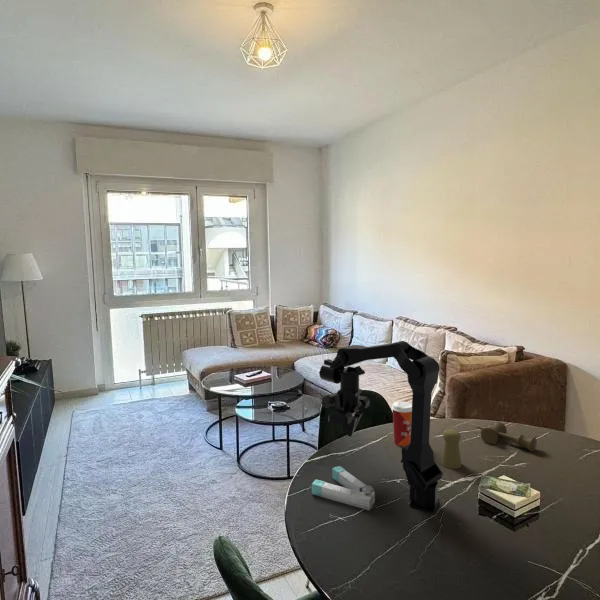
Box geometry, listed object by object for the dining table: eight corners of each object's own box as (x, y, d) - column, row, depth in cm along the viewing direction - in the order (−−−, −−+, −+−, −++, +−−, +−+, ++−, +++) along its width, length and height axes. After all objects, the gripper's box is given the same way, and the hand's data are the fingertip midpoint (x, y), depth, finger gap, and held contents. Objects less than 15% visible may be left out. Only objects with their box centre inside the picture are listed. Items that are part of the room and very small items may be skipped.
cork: (458, 459, 144) (459, 427, 142) (463, 469, 138) (464, 435, 136) (439, 459, 144) (440, 426, 143) (443, 468, 138) (444, 434, 137)
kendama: (529, 458, 145) (470, 438, 159) (539, 449, 152) (481, 431, 166) (530, 440, 144) (471, 422, 159) (541, 432, 151) (482, 415, 165)
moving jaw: (366, 495, 124) (367, 485, 124) (359, 498, 123) (359, 487, 122) (339, 475, 135) (339, 465, 135) (332, 478, 134) (332, 468, 133)
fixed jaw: (376, 499, 122) (376, 487, 122) (369, 510, 117) (369, 498, 116) (321, 484, 130) (321, 473, 130) (311, 494, 125) (311, 482, 125)
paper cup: (408, 449, 151) (408, 410, 150) (387, 444, 156) (387, 405, 154) (417, 441, 158) (418, 403, 156) (397, 436, 162) (397, 399, 160)
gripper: (338, 375, 148) (338, 420, 149) (312, 391, 131) (312, 442, 133) (370, 380, 142) (370, 426, 144) (346, 397, 126) (347, 450, 128)
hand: (350, 435), depth 137 cm, fingers closed
